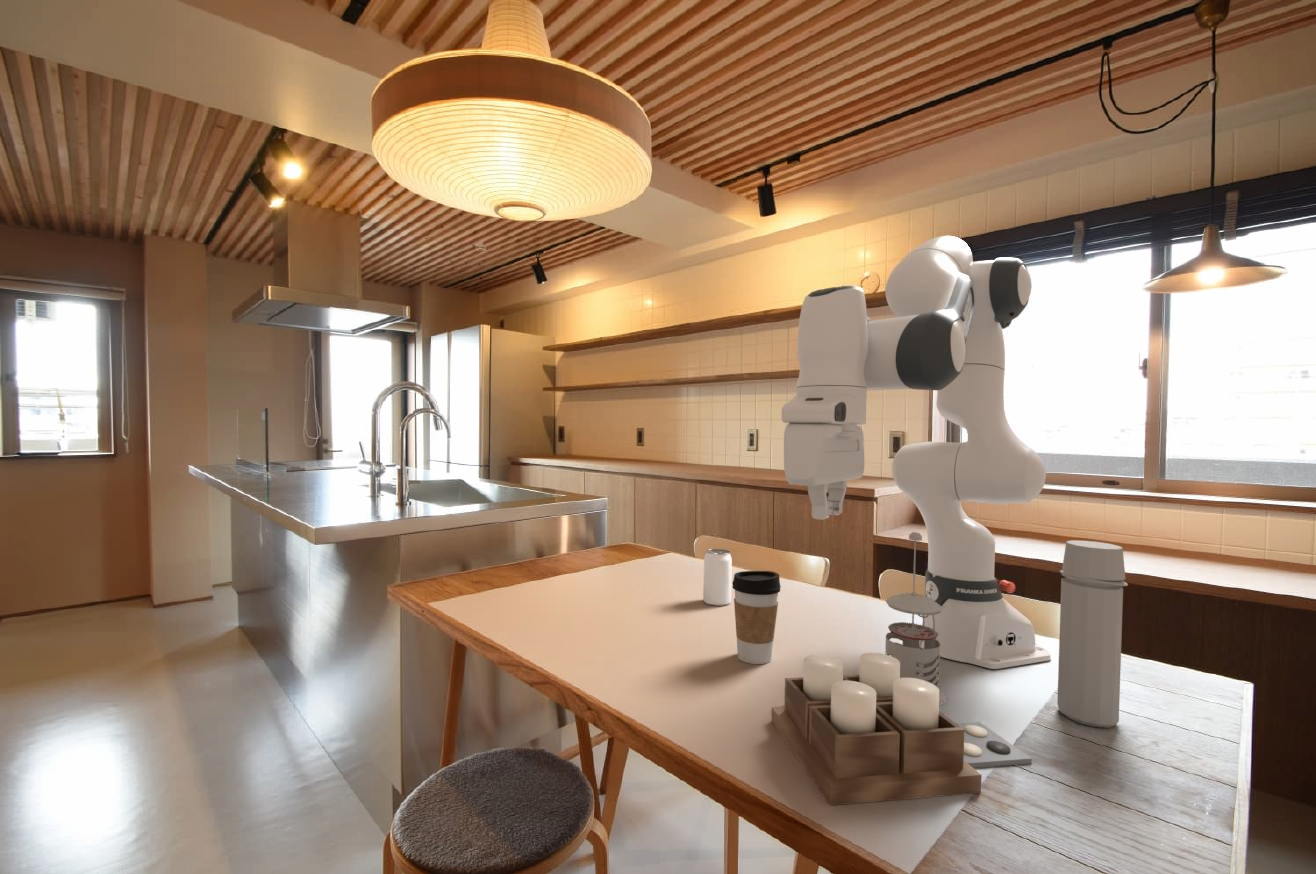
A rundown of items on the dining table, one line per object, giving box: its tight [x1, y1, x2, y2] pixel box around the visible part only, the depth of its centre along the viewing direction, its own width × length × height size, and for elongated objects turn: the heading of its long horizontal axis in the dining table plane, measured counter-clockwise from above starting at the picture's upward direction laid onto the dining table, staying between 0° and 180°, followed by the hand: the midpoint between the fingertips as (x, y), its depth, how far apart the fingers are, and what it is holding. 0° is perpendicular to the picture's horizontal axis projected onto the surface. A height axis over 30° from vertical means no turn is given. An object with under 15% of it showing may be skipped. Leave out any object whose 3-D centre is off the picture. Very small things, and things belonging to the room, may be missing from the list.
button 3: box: [858, 652, 900, 698], centre depth 77 cm, size 5×5×5 cm
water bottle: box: [1056, 540, 1129, 728], centre depth 83 cm, size 9×8×25 cm
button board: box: [770, 674, 982, 806], centre depth 72 cm, size 18×18×6 cm
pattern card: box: [955, 721, 1033, 769], centre depth 75 cm, size 9×9×1 cm
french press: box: [884, 531, 947, 706], centre depth 91 cm, size 10×12×25 cm
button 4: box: [892, 678, 940, 731], centre depth 69 cm, size 5×5×5 cm
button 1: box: [802, 654, 844, 701], centre depth 75 cm, size 5×5×5 cm
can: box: [702, 548, 733, 607], centre depth 135 cm, size 6×6×12 cm
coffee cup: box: [731, 570, 782, 665], centre depth 102 cm, size 8×8×15 cm
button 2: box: [830, 680, 876, 735], centre depth 68 cm, size 5×5×5 cm
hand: (827, 516), depth 75 cm, fingers open, 4 cm apart
